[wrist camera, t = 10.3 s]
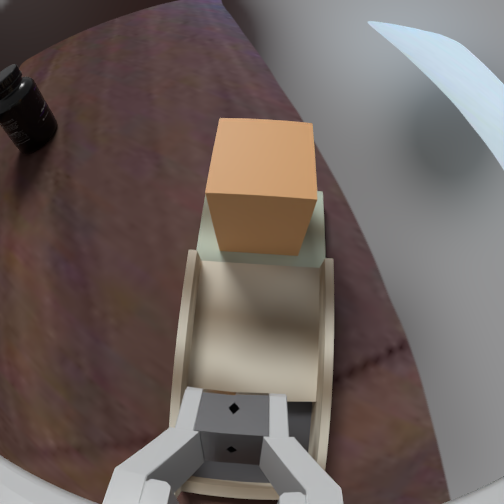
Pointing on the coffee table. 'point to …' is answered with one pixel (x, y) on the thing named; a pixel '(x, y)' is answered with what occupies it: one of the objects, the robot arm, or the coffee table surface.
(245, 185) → the orange block
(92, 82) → the coffee table surface
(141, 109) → the coffee table surface
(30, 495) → the robot arm
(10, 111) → the supplement bottle
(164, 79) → the coffee table surface
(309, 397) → the chute
